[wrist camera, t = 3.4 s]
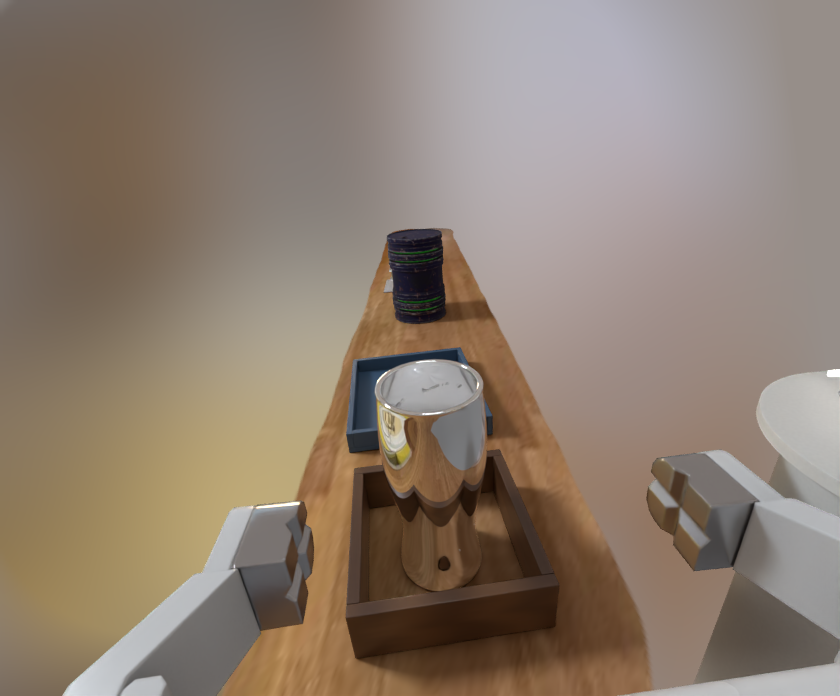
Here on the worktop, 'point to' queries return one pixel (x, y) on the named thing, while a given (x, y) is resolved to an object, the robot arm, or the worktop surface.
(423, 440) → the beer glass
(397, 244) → the navy layered cylinder
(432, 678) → the worktop surface
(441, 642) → the wooden square box
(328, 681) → the worktop surface
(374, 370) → the tray
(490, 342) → the worktop surface
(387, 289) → the stacked layers on plate
